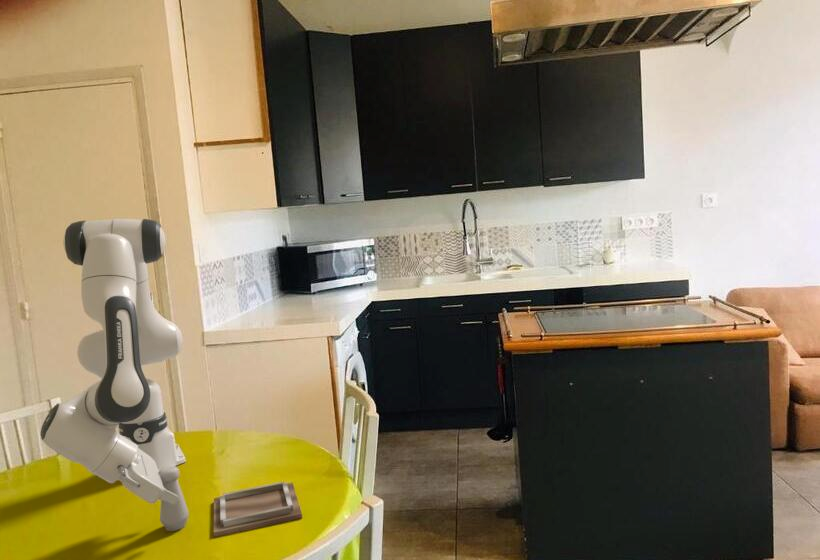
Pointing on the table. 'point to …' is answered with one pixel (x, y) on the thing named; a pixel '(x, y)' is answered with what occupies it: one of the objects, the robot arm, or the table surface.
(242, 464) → the table surface
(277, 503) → the socket plate
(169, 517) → the salt shaker
